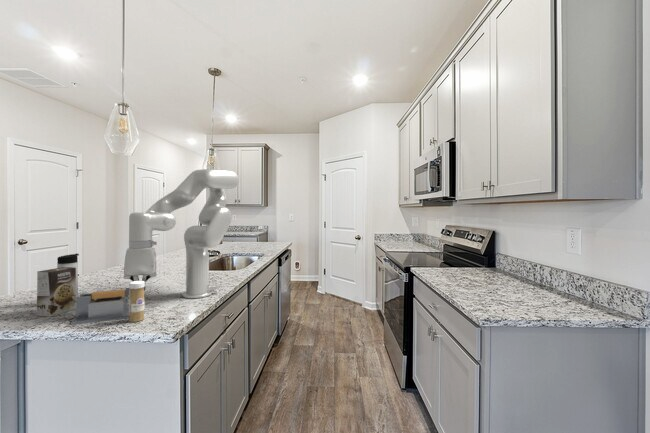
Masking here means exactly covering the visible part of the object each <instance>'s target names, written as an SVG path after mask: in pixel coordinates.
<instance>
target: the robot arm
mask: <svg viewBox="0 0 650 433" xmlns="http://www.w3.org/2000/svg"><path fill="white" fill-rule="evenodd" d="M239 178H240V177H239V176H238V174H237V172H235V171H233V170H223V169H214V168H207V169H205V168H204V169H196V170H194V171H191V173H189V175H188V176H186V178H185V179H184V180H183V181H182V182H181V183H180V184H179V185H178V186H177V187H176V188H175V189H174V190H172V191H171V192H169V193H168V194H167V195H165V196H163V197H161V198H160V199H159V200H157V201H156V202H155V203H153V204H152V205H151V206H150V207H149V208H148V209H147V210H146V211H145V212H131V213H130V214H129V217H128V248H127V249H126V251H125V255H124V266H123V277H122V278H123V279H125V280H130V281H131V282H133V281H140V276H142V278H141V281H144V282H145V283H146V282H147V281H148V280H150V279H151V278H154V277H157V276H158V274H157V255H156V254H157V253H156V250H155V249H156V248H155V247H154V246H157V244H158V243H157V241H154V240H153V231H157V232H166V231H171V230H172V229H173V228H175V226H176V224H177V220H176V218H175V216H174V215H173V214H172V212H174V211H177V210H178V209H182V208H184V207H187V206H189V205H191V204H192V203H193V202H194V201H195V200H196V199H197V197H198V196H199V195H201V193H202V192H203V191H204V190H205V189H209V197H208V199H207V201H206V202H205V204H204V206H203V207H202V208H201V211H200V212H199V215H198V222H199V223H200V225H192V226H189V227H188V228H186V230H184V231H185V232H184V235H183V242H184V246H185V256H186V258H185V261H186V262H185V290H184V291H183V292H182V294H181V297H183V298H184V299H200V298H206V297H208V296H211V295H212V294H213V290H220V284H210V281H209V279H210V277H209V276H210V273H209V272H210V255H209V249H208V248H212V249H213V248H216V247H217V246H219V245H220V243H221V242H222V240H223V238H224V236H225V235H226V233H227V231H228V229H229V227H230V225H231V223H232V218H233V217H232V212H231V210H230V209H229V208H228V207H227V206H226V205H227V204H228V197H227V194H226V189H227V190H229V189H234V188H236V187H237V186H238V185H239V181H240V179H239ZM145 291H146V286H145V287H144V292H145Z"/></svg>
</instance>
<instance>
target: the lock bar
mask: <svg viewBox="0 0 650 433" xmlns="http://www.w3.org/2000/svg"><path fill="white" fill-rule="evenodd" d="M91 293H92V299H99V298H110V297H121V296H125V297H128V298H129V297H130V288H129V287H126V288H125V289H114V290H105V291H103V290H102V291H93V292H91Z"/></svg>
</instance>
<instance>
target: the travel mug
mask: <svg viewBox="0 0 650 433" xmlns="http://www.w3.org/2000/svg"><path fill="white" fill-rule="evenodd" d="M78 256H80V254H79V253H73V254H65V255H61V256H58V257H57V263H56V264H57V267H56V268H61V267H73V268H76V298H77V297H79V282H78V281H79V274H78V273H79V264H78V263H79V261H78V260H79V259H78Z"/></svg>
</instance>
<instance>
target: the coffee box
mask: <svg viewBox="0 0 650 433" xmlns="http://www.w3.org/2000/svg"><path fill="white" fill-rule="evenodd" d="M36 272H37V273H36V275H37V277H36V282H37V283H36V284H37V285H36V316H38V317H39V316H40V317H49V318H52V317H54V316H55V317H56V316H58V315H60V314H63V313H66V312H69V311H73V310H76V268H73V267H61V268H57V267H56V268H50V269H44V270H43V269H42V270H40V271H39V270H38V271H36Z"/></svg>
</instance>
